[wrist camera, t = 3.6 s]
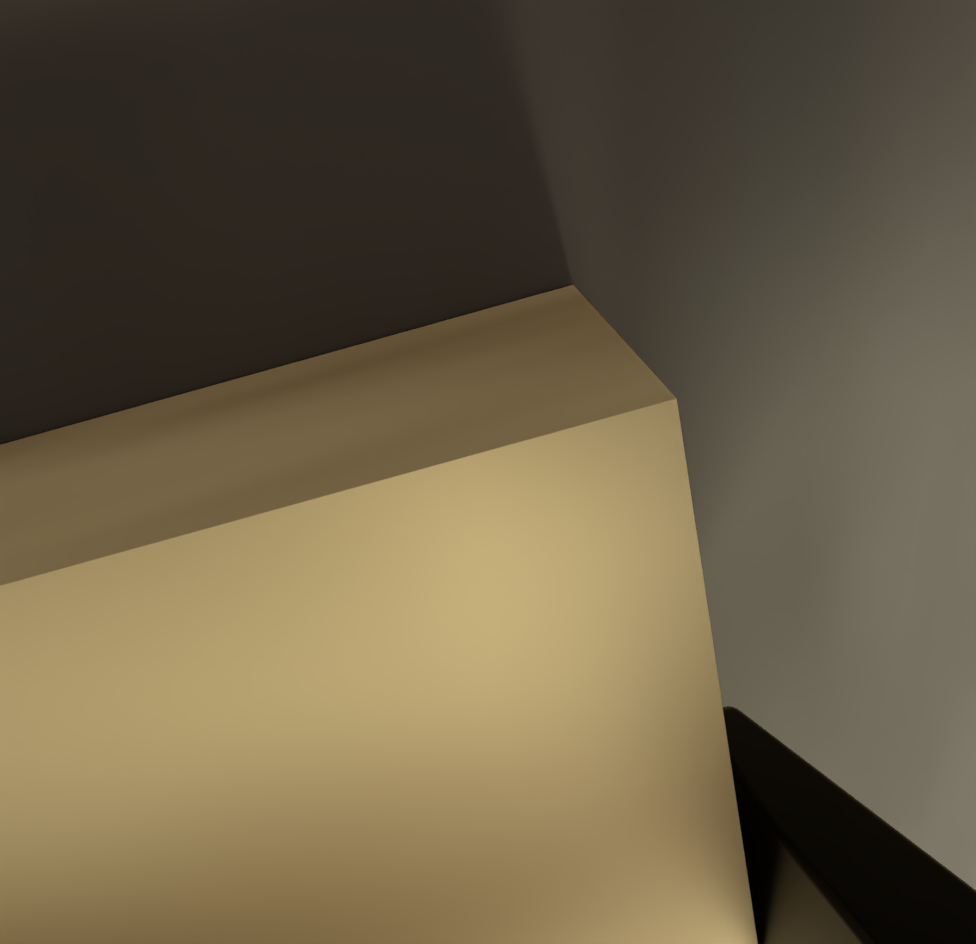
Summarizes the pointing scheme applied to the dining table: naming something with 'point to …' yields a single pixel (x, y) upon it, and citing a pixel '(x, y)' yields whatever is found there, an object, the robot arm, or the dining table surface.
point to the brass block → (369, 656)
